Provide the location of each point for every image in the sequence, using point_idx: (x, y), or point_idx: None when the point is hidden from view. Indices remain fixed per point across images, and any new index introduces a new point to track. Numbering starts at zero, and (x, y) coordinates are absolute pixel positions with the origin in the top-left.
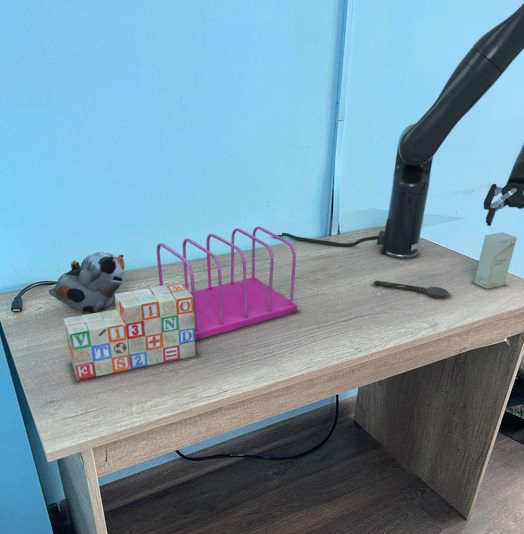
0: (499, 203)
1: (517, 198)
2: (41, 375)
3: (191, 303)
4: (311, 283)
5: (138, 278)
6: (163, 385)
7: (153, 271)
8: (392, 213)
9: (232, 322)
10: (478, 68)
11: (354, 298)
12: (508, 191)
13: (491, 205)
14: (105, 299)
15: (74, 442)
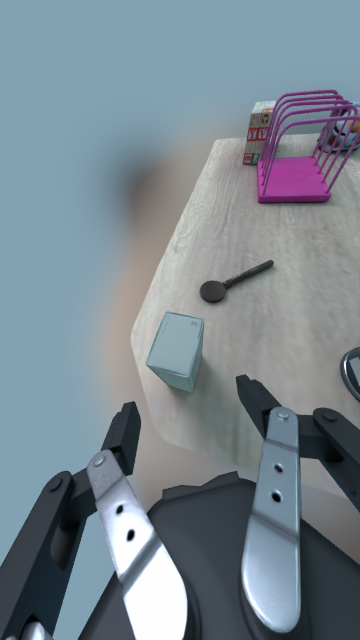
0: (269, 437)
1: (206, 524)
2: None
3: (250, 119)
4: (306, 230)
5: None
6: (228, 155)
7: None
8: None
9: (259, 170)
10: None
11: (254, 237)
12: (320, 583)
13: (289, 414)
14: (324, 141)
15: (215, 141)
